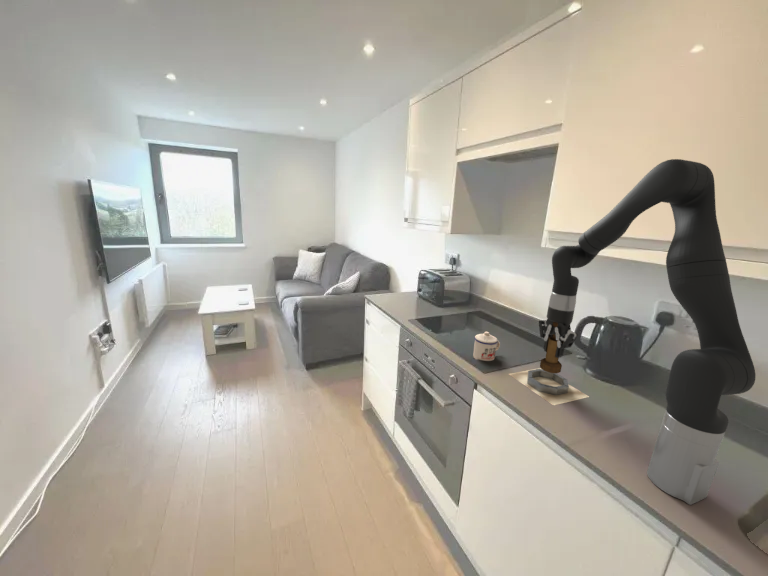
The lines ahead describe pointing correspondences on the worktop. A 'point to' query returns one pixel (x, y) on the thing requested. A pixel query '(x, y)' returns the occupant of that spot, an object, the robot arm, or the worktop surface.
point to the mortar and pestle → (551, 356)
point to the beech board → (552, 399)
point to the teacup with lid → (485, 347)
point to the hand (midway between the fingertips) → (552, 353)
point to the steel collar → (546, 388)
